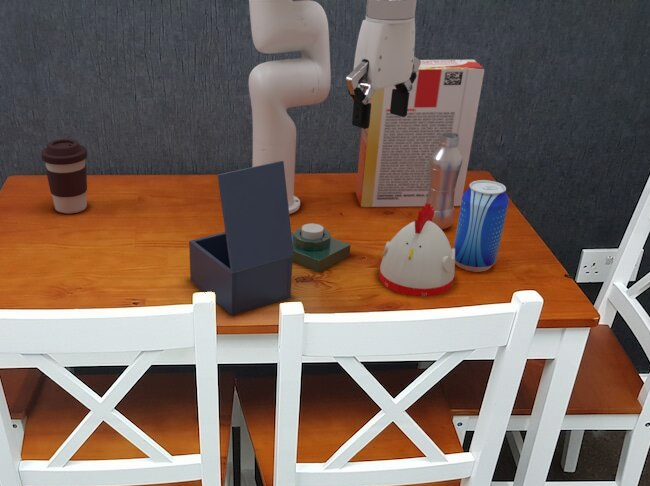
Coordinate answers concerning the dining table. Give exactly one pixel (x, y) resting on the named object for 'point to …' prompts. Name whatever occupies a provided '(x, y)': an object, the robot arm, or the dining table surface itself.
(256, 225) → the lid
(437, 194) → the plastic bottle
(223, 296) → the box
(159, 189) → the dining table surface
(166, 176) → the dining table surface
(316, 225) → the white button
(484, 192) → the beer can
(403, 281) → the kitchen timer
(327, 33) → the robot arm
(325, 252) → the push button base
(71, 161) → the coffee cup
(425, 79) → the cereal box
